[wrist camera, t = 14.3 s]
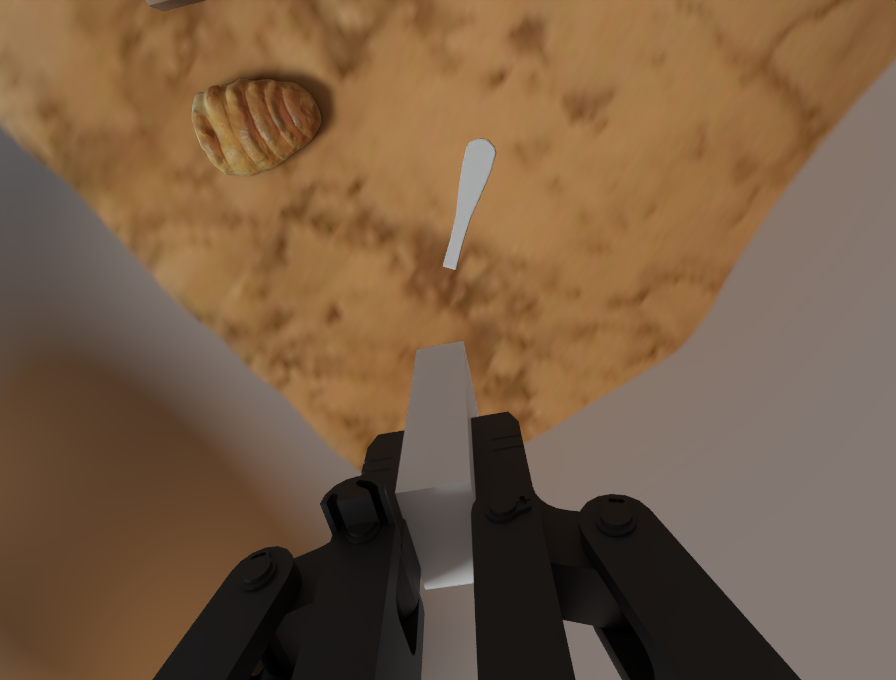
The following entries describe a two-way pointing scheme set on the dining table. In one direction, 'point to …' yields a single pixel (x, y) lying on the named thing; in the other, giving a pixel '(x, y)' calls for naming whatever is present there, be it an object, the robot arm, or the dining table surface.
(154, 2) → the taupe stand
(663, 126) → the dining table surface
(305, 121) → the pastry
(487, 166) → the butter knife
